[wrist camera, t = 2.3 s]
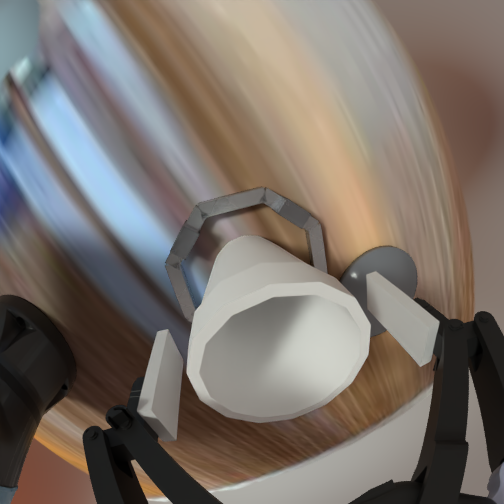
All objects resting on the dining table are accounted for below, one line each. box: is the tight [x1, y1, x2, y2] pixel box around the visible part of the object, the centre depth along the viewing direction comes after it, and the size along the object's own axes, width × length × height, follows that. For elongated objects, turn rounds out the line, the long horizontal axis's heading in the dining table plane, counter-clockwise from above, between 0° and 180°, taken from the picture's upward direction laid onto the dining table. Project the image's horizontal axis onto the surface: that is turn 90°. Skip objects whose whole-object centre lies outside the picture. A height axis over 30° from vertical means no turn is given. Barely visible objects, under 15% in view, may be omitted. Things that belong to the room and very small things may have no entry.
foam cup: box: [187, 236, 371, 423], centre depth 18 cm, size 10×9×13 cm
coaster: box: [339, 246, 417, 337], centre depth 27 cm, size 11×11×1 cm
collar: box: [165, 187, 328, 323], centre depth 23 cm, size 14×14×2 cm
